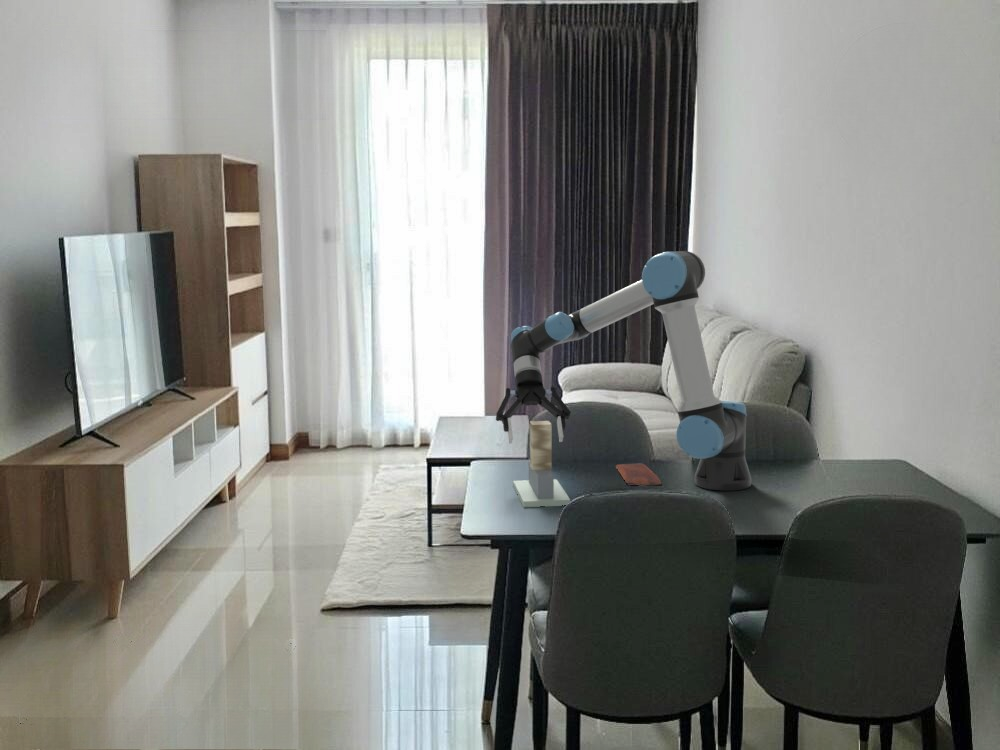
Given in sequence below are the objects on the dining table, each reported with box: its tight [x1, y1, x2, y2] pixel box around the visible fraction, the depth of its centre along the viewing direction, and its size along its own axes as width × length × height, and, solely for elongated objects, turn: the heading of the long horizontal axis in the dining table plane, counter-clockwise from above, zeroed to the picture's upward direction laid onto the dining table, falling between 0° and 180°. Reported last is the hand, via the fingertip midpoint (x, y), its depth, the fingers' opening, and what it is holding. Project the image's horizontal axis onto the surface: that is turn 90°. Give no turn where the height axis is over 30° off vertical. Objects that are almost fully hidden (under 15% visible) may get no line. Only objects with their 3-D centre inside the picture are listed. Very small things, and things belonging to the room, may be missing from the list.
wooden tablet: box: [615, 462, 662, 486], centre depth 312 cm, size 27×10×2 cm, turn 2°
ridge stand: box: [512, 459, 571, 508], centre depth 289 cm, size 22×12×8 cm, turn 6°
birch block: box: [529, 420, 553, 471], centre depth 287 cm, size 5×5×12 cm
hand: (536, 440), depth 293 cm, fingers open, 13 cm apart
